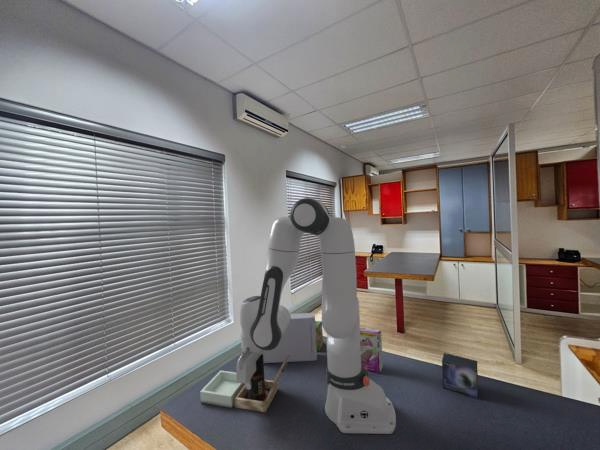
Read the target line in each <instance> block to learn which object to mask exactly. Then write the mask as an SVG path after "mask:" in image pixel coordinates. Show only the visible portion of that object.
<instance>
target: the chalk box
mask: <svg viewBox="0 0 600 450" xmlns="http://www.w3.org/2000/svg"><path fill="white" fill-rule="evenodd" d="M315 330H316V350H317V352H320V351H321V349H322V348H323V347H322V346H323V344H324V338H323V337H324V336H323V333H324V332H323V326H322V320H321V321H318V320H315Z"/></svg>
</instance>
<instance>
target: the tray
mask: <svg viewBox="0 0 600 450" xmlns="http://www.w3.org/2000/svg"><path fill="white" fill-rule="evenodd" d="M244 385H245V384H243V383H238V382H237V380H236V372H235V371H226V370H221V369H219V371H218V372H217V373H216V374H215V376H214V377H213V378H211V379H210V380H209V382H208V383H207V384H206V385H205V386H204V387H203V388H202V389H201V390H200V391H199V395H200V403H202V404H206V405H207V404H208V405H212V406H213V405H214V406H218V407H225V408H229V409H230V408H231V409H232V408H233V407H234V406H235V402H234V398H235V397H236V396H237V394H238V393H239V392H240V390H241V389H242V388H243V386H244Z"/></svg>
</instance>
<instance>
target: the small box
mask: <svg viewBox="0 0 600 450" xmlns="http://www.w3.org/2000/svg"><path fill="white" fill-rule="evenodd" d="M441 368H442V370H441V371H442V373H441V374H442V388H443V389H446V390H448V391H451V392H455V393H458V394H461V395H463V396H466V397H469V398H473V399H475V400H478V398H479V382H478V381H479V380H478V379H479V378H478V360H475V359H470V358H467V357H462V356H460V355H459V356H458V355H454V354H451V353H447V352H443V355H442V359H441Z"/></svg>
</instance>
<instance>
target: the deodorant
mask: <svg viewBox="0 0 600 450" xmlns="http://www.w3.org/2000/svg"><path fill="white" fill-rule="evenodd" d="M264 365H265V363H264V361H263V354H261V355H260V357H259V358H258V359H257V361H256V371H255V373H254V374H253V376H252V377H251V380H250V381H251V382H252V387H251V389H250V390H249V389H248V399H251V400H257V401H263V402H264V401H265V399H266V389H265V380H266V379H265V366H264Z"/></svg>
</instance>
